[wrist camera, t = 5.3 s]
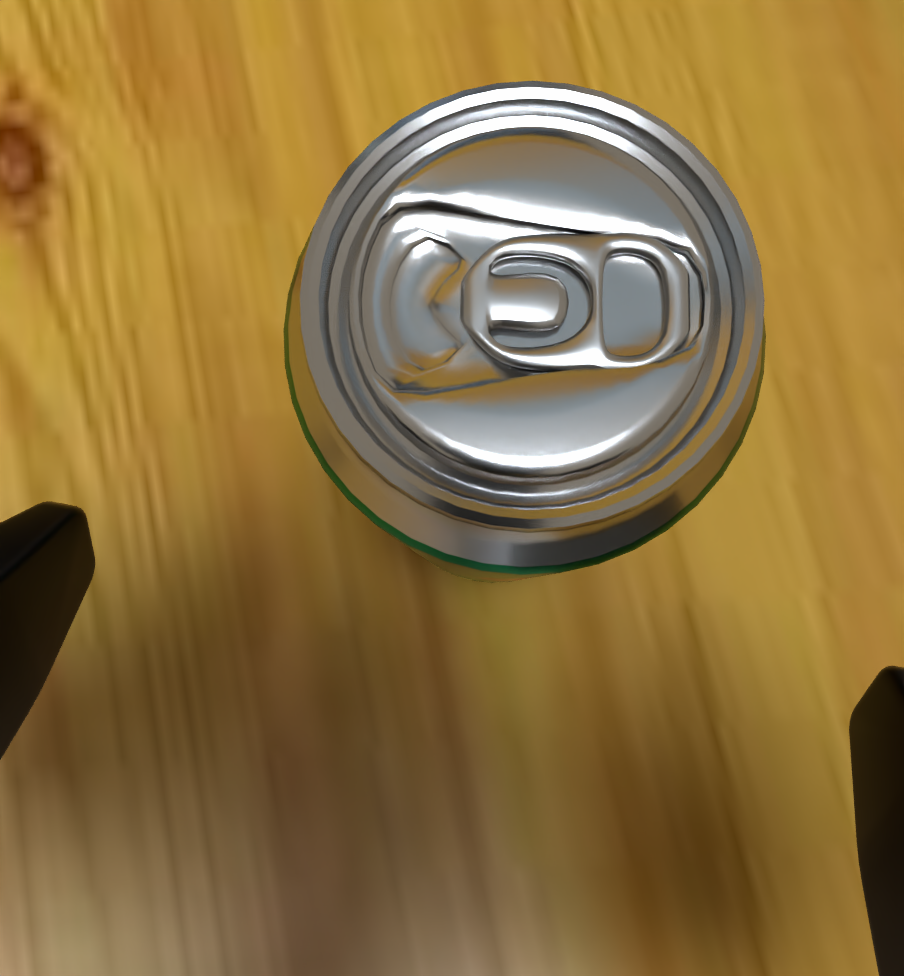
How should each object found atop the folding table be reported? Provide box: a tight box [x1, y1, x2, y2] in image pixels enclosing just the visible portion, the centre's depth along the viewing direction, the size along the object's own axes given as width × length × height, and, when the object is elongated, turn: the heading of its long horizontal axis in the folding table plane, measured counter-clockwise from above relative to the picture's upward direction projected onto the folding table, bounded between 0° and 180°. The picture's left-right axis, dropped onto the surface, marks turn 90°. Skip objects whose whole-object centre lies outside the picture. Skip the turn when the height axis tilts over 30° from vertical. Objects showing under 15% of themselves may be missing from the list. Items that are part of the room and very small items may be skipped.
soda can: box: [284, 81, 766, 583], centre depth 14 cm, size 5×5×12 cm
